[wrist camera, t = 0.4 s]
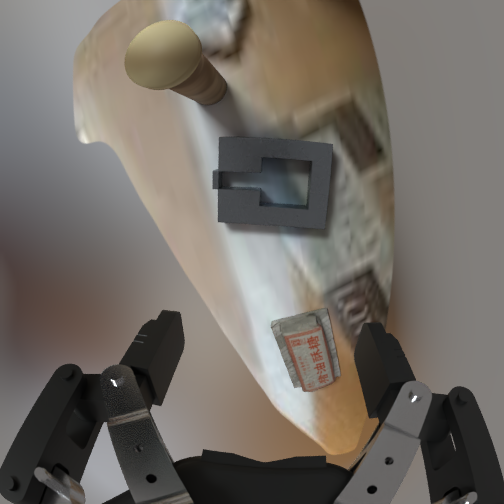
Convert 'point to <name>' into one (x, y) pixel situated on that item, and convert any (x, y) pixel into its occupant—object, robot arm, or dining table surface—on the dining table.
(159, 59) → the walnut peg
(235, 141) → the keyhole plate
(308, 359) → the packaged product
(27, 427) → the robot arm
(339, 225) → the dining table surface
